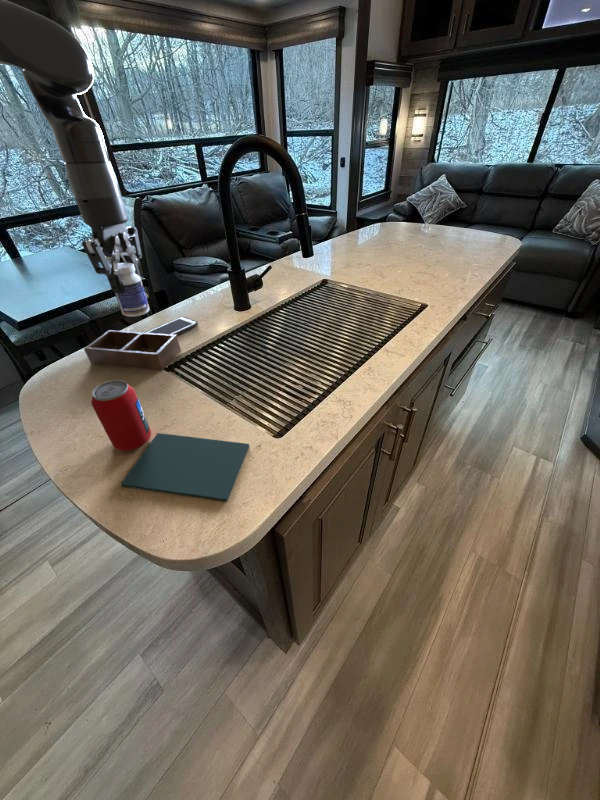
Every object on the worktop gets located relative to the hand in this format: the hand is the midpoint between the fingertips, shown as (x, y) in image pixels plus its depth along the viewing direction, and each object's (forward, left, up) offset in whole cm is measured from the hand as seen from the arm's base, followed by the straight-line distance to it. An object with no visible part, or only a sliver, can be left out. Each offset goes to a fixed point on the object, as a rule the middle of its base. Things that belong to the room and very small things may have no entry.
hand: (128, 287), depth 69 cm
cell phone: (-5, +19, -20) cm, 28 cm away
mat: (+22, -28, -20) cm, 41 cm away
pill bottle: (0, 0, -6) cm, 6 cm away
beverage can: (+9, -24, -20) cm, 33 cm away
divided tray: (-7, +4, -20) cm, 22 cm away
